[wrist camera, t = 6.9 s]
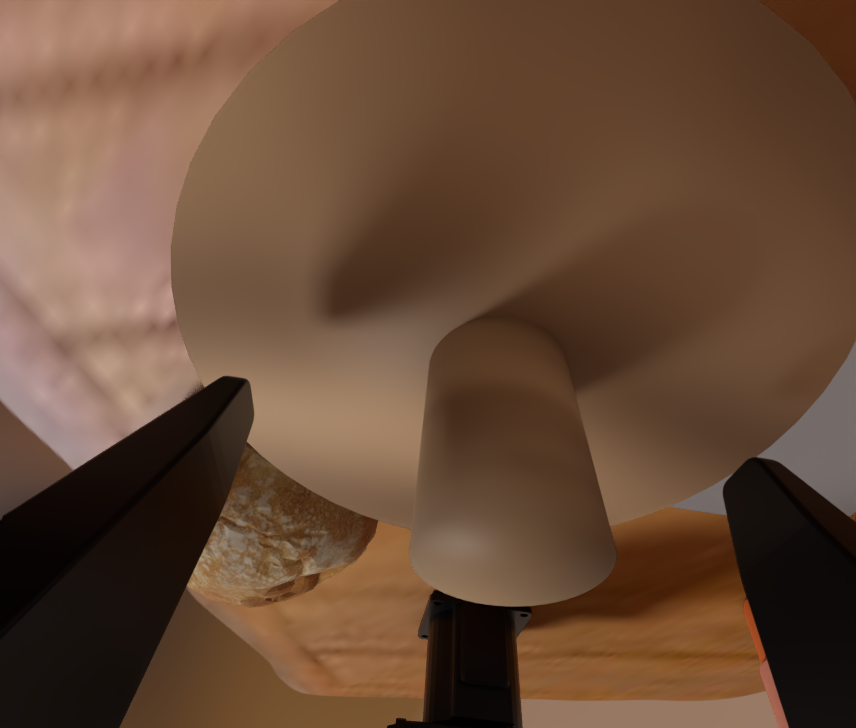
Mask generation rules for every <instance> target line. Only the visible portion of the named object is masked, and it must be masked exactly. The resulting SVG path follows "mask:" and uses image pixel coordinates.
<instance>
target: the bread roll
mask: <svg viewBox="0 0 856 728" xmlns="http://www.w3.org/2000/svg"><path fill="white" fill-rule="evenodd" d="M377 523H378V520H376V519H373V518H370V517H367V516H364V515H361V514H359V513H356V512H354V511H352V510H349V509H347V508H345V507H342V506H340V505H337V504H335V503H333V502H331V501H329V500H328V499H326V498H324V497H322V496H320V495H318V494H316V493H314V492H312V491H310V490H309V489H307V488H306V487H304V486H303V485H301V484H299V483H298V482H296V481H295V480H293V479H292V478H290V477H289V476H287V475H286V474H284V473H283V472H282V471H280V470H279V469H278V468H277V467H275V466H274V465H273V464H271V463H270V462H269V461H268V460H266V459H265V458H264V457H263V456H261V455H260V454H259V453H258V452H257V451H256V450H255V449H254V448H253V447H252V446H251V445H250V444H249V443H248V442H246V445H245V448H244V451H243V454H242V457H241V460H240V463H239V466H238V469H237V472H236V475H235V478H234V481H233V484H232V487H231V490H230V492H229V495H228V498H227V501H226V503H225V505H224V508H223V510H222V512H221V514H220V517H219V519H218V521H217V523H216V525H215V527H214V529H213V531H212V533H211V536H210V538H209V540H208V542H207V544H206V546H205V548H204V550H203V552H202V555H201V557H200V559H199V561H198V563H197V565H196V567H195V569H194V571H193V573H192V576H191V578H190V580H189V582H188V584H187V586H189V587H190V588H192V589H193V590H195V591H197V592H198V593H200V594H201V595H203V596H204V597H206V598H208V599H211V600H214V601H219V602H222V603H224V604H226V605H229V606H239V607H249V608H250V607H263V606H266V605H270V604H273V603H277V602H282V601H285V600H288V599H291V598H294V597H296V596H299V595H302V594H304V593H306V592H308V591H310V590H312V589H314V587H315V586H316V585H318V584H319V583H321V582H322V581H323V580H325V579H327V578H329V577H331V576H332V575H334V574H335V573H338V572H340V571H342V570H343V569H344V568H346V567H348V566H349V565H351V564H352V563H354V562H355V561H356V560H357V559H358V558H359V557H360V556H361V555H362V553H363V552H364V551H365V550H366V547H367V545H368V543H369V542H370V541H371V540H372V538H373V537H374V535H375V533H376V527H377Z"/></svg>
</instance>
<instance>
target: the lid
mask: <svg viewBox="0 0 856 728" xmlns="http://www.w3.org/2000/svg"><path fill="white" fill-rule="evenodd" d="M171 281H172V292H173V298H174V303H175V309H176V315H177V320H178V325H179V328H180V331H181V334H182V337H183V340H184V343H185V346H186V349H187V352H188V355H189V357H190V359H191V361H192V363H193V365H194V367H195V369H196V371H197V373H198V375H199V377H200V379H201V382H202V384H203V386H204V387H206V386H207V385H209V384H211V383H212V382H214V381H215V380H217V379H218V378H220V377H222V376H234V377H240V378H245V379H247V380H248V381H249V382H250V385H251V392H252V398H253V405H254V421H253V425H252V428H251V431H250V434H249V437H248V440H247V442H248V443H249V444H250V445H251V446H252V447H253V448H254V449H255V450H256V451H257V452H258V453H259V454H260V455H261V456H263V457H264V458H265V459H266V460H268V461H269V462H270V463H271V464H273V465H274V466H275V467H277V468H278V469H279V470H280V471H282V472H283V473H284V474H286V475H287V476H289V477H290V478H292V479H293V480H295V481H296V482H298V483H299V484H301V485H303V486H304V487H306V488H307V489H309V490H310V491H312V492H314V493H316V494H318V495H320V496H322V497H324V498H326V499H328V500H329V501H331V502H333V503H335V504H337V505H340V506H342V507H345V508H347V509H349V510H352V511H354V512H356V513H359V514H361V515H364V516H367V517H370V518H373V519H376V520H379V521H382V522H385V523H388V524H391V525H395V526H399V527H403V528H407V529H411V539H410V548H409V559H410V563H411V565H412V568H413V569H414V571H415V572H416V574H417V575H418V576H419V577H420V578H421V579H422V580H424V581H425V582H426V583H427V584H429V585H430V586H432V587H434V588H435V589H437V590H439V591H441V592H443V593H445V594H448V595H450V596H453V597H456V598H459V599H462V600H466V601H470V602H474V603H480V604H486V605H495V606H535V605H544V604H550V603H555V602H559V601H563V600H567V599H570V598H573V597H576V596H579V595H581V594H583V593H586V592H588V591H589V590H591V589H593V588H595V587H596V586H598V585H599V584H600V583H602V582H603V581H604V580H605V579H606V578H607V577H608V576H609V575H610V573H611V572H612V571H613V569H614V566H615V564H616V559H617V554H616V548H615V544H614V540H613V536H612V532H611V529H610V526H613V525H617V524H621V523H624V522H627V521H631V520H634V519H637V518H640V517H643V516H646V515H649V514H652V513H655V512H657V511H659V510H662V509H664V508H667V507H669V506H672V505H674V504H677V503H679V502H682V501H684V500H686V499H688V498H689V497H691V496H693V495H695V494H697V493H699V492H701V491H703V490H705V489H707V488H709V487H711V486H713V485H715V484H716V483H718V482H720V481H721V480H723V479H724V478H726V477H728V476H729V475H731V474H733V473H734V472H735V471H736V470H737V469H738V468H739V467H740V466H741V465H742V464H743V463H744V462H745V461H746V460H747V459H749V458H752V457H757V456H758V455H760V454H761V453H762V452H764V451H765V450H766V449H768V448H769V447H770V446H771V445H773V444H774V443H775V442H776V441H777V440H778V439H779V438H780V437H781V436H782V435H784V434H785V433H786V432H787V431H788V430H789V429H790V428H791V427H792V426H793V425H794V424H796V423H797V422H798V421H799V420H800V418H801V417H802V416H803V415H804V414H805V413H806V412H807V411H808V409H809V408H810V407H811V406H812V405H813V404H814V403H815V401H816V400H817V399H818V398H819V397H820V396H821V395H822V393H823V392H824V391H825V390H826V388H827V387H828V385H829V384H830V382H831V381H832V379H833V378H834V376H835V375H836V374H837V372H838V371H839V369H840V368H841V366H842V365H843V363H844V362H845V360H846V359H847V357H848V355H849V353H850V351H851V349H852V347H853V345H854V343H855V341H856V104H855V102H854V100H853V98H852V96H851V94H850V92H849V90H848V88H847V87H846V86H845V84H844V83H843V82H842V81H841V79H840V78H839V77H838V75H837V74H836V73H835V72H834V70H833V69H832V68H831V67H830V65H829V64H828V63H827V62H826V60H825V59H824V58H823V57H822V55H821V54H820V53H819V51H818V50H817V49H816V48H815V46H814V45H813V44H812V43H811V42H810V41H809V40H808V39H806V38H805V37H804V36H803V35H802V34H800V33H799V32H798V31H797V30H795V29H794V28H793V27H792V26H791V25H789V24H788V23H787V22H786V21H785V20H783V19H782V18H781V17H780V16H778V15H777V14H776V13H775V12H774V11H772V10H771V9H770V8H769V7H767V6H766V5H765V4H764V3H763V2H761V1H759V0H339V1H338V2H336V3H335V4H333V5H332V6H330V7H329V8H327V9H326V10H324V11H323V12H321V13H319V14H318V15H316V16H315V17H313V18H312V19H310V20H309V21H307V22H306V23H304V24H303V25H301V26H300V27H298V28H297V29H295V30H294V31H292V32H291V33H290V34H289V35H288V36H287V37H286V38H285V39H284V40H283V41H282V42H280V43H279V44H278V45H277V46H276V47H275V48H274V49H273V50H272V51H271V52H270V53H269V54H268V55H266V56H265V57H264V58H263V59H262V60H261V61H260V62H259V63H258V64H257V65H256V66H255V67H254V68H253V69H251V70H250V71H249V72H248V73H247V75H246V76H245V77H244V79H243V80H242V81H241V83H240V84H239V85H238V87H237V88H236V89H235V90H234V92H233V93H232V94H231V96H230V97H229V98H228V100H227V101H226V102H225V104H224V105H223V106H222V108H221V109H220V110H219V111H218V113H217V114H216V115H215V117H214V119H213V121H212V122H211V124H210V126H209V128H208V130H207V132H206V134H205V136H204V138H203V140H202V142H201V143H200V145H199V147H198V149H197V151H196V153H195V155H194V157H193V159H192V161H191V163H190V166H189V170H188V173H187V176H186V179H185V182H184V185H183V188H182V191H181V194H180V198H179V201H178V204H177V208H176V215H175V222H174V229H173V236H172V243H171Z"/></svg>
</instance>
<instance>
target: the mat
mask: <svg viewBox="0 0 856 728" xmlns="http://www.w3.org/2000/svg"><path fill="white" fill-rule="evenodd" d="M757 457H759V458H765V459H772V460H775V461H778V462H780V463H781V464H783V465H784V466H785V467H786V468H788V469H789V470H790V471H791V472H793V473H794V474H795V475H797V476H798V477H799V478H800V479H802V480H803V481H804V482H805V483H807V484H808V485H809V486H811V487H812V488H813V489H814V490H816V491H817V492H818V493H819V494H821V495H822V496H823V497H825V498H826V499H827V500H828V501H830V502H831V503H832V504H833V505H835V506H836V507H837V508H839V509H840V510H841V511H842V512H844V513H845V514H846V515H847V516H849V517H850V516H851V515H852V514H854V513H855V512H856V341H855V343H854V345H853V347H852V349H851V351H850V353H849V355H848V357H847V359H846V360H845V362H844V363H843V365H842V366H841V368H840V369H839V371H838V372H837V374H836V375H835V376H834V378H833V379H832V381H831V382H830V384H829V385H828V387H827V388H826V390H825V391H824V392H823V393H822V395H821V396H820V397H819V398H818V399H817V400H816V401H815V403H814V404H813V405H812V406H811V407H810V408H809V409H808V411H807V412H806V413H805V414H804V415H803V416H802V417H801V418H800V420H799V421H798V422H797V423H796V424H794V425H793V426H792V427H791V428H790V429H789V430H788V431H787V432H786V433H785V434H784V435H782V436H781V437H780V438H779V439H778V440H777V441H776V442H775V443H774V444H773V445H771V446H770V447H769V448H768V449H766V450H765V451H764V452H762V453H761V454H760V455H758V456H757ZM732 475H733V474H731V475H729V476H728V477H726V478H724V479H723V480H721V481H720V482H718V483H716V484H715V485H713V486H711V487H709V488H707V489H705V490H703V491H701V492H699V493H697V494H695V495H693V496H691V497H689V498H688V499H686V500H684V501H682V502H679V503H677V504H674V505H672V506H669V507H673V508H680V509H686V510H693V511H700V512H706V513H713V514H720V515H727V514H726V509H725V504H724V500H723V486H724V484H725V482H726V481H727V480H728V479H729V478H730V477H731V476H732Z"/></svg>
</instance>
